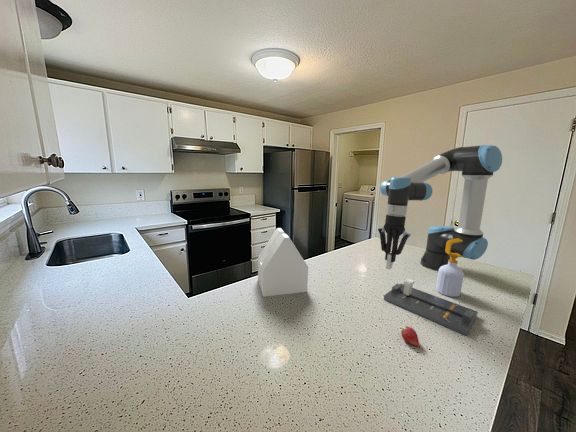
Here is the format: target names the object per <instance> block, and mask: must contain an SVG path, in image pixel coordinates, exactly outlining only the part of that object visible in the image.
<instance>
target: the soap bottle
mask: <svg viewBox="0 0 576 432" xmlns="http://www.w3.org/2000/svg"><path fill="white" fill-rule="evenodd" d="M459 242H463V240H461V239H459V238H457V239H451V240H448V241H447V242H446V248H445V252H446V253H447V254H448V255H450V258H451V259H449V260H448V264H447V265H443V266H441V267H440V268H439V271H438V270H437V272H438V273H437V279H436V283H435V284H436V286H435V290H436V291H437V292H438V294H439V293H440V294H441V295H444V296H447V297H451V298H458V297H460V296H461V292H462V287H463V282H464V278H465V277H464V276H465V274H464V272H463V270H462V269H461V268H460V267H458V260H457V259H458V258H463V257H462V256H461V255H460V254H458V253H450V252H451V247H452V245H453V244H454V243H459Z"/></svg>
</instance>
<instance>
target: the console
mask: <svg viewBox="0 0 576 432" xmlns="http://www.w3.org/2000/svg"><path fill="white" fill-rule="evenodd" d="M404 286H405V285H404V283H400V284H399V283H396V284H395V285H393V286H391V290H389V291H388V292H386V293H385V294H384V295H383V300H384V301H386V302H388V303H391V304H393V305H395V306H397V307H400V308H401V309H403V310H407V311H408V312H411V313H413V314H416V315H418V316H420V317H423V318H424V319H427V320H430V321H432V322H434V323H436V324H438V325H441V326H443V327H446V329H447V328H448V329H450V330H452V331H455V332H456V333H460V334H461V335H464V336H468V333H469V332H470V330H471V328H472V326H473V325H474V323H475V321H476V319H477V317H478V313H479V312H478V311H477V310H475V309H471V308H469V307H466V306H464V305H460V304H458V303H456V302H453V301H450V300H447V299H445V298H442V297H438V296H436V295H434V294H430V293H428V292H425V291H422V290H420V289H417V288H414V287H412V293H411V294H410V295H409V296H408V295H405V294H403V293H404Z"/></svg>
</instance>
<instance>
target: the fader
mask: <svg viewBox="0 0 576 432" xmlns="http://www.w3.org/2000/svg"><path fill="white" fill-rule="evenodd" d="M403 284H404V285H405V286H404V293H403V294H405V295H408V296H409V295H410V294H411V293H412V288H414V287H413V286H414V284H415V280H414V279H409V278H407V279H406V280H405V281H403Z"/></svg>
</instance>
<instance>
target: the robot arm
mask: <svg viewBox="0 0 576 432" xmlns="http://www.w3.org/2000/svg"><path fill="white" fill-rule="evenodd" d="M502 164H503V154H502V151H501V150H500V148H499V147H497V146H496V145H491V144H489V145H486V144H483V145H472V146H461V147H460V146H459V147H455V148H452V149H450V150H447V151H445V152H442V153H440V154H438V155H437V156H435V157H433V158H432V160H431V161H429V162H427V163H425V164H423V165H421V166H418V167H416V168H414V169H413V170H411V171H409V172H406V173H405V174H403V175H401V176H393V177H391V179H388V180H387V179H386V180H384V181H383V182H381V184H380V190H379V191H380V193H381V194H382V196H385V197H387V205H386V214H385V220H384V225H383V226H382V227H379V228H378V229H377V230H378V233H379V240H380V248H381V249H380V250H381V251H382V252H384V253H385V254H384V255H385V257H384V260H385V261H386V265H385V269H387V270H392V269H393V264H394V263H395V262H396V258H397V256H399V255H401V254H402V251H403V250H404V247H405V245H406V243H407V241H408V239H409V238H410V236H411V233H408V232H407V231H406V228H405V226H406V218H407V217H406V215H407V211H408V203H409V201H420V202H422V201H426V200H429V199H430V198H431V197H432V195H433V190H434V189H433V187H432V185H431V184H430V183H427V181H428V180H430V179H433V178H435V177H436V176H438V175H443V174H447V173H448V172H461V176H462V177H463V178H464V184H463V190H462V196H461V204H460V205H461V206H460V212H459V217H458V224H457V225H458V226H457V227H453V226H450V225H433V226H430V227H429V229H428V233H427V237H426V238H427V239H426V246H425V251H424V252H423V254H422V257H421V258H420V263H419V264H420V265H421V266H423V267H424V268H428V269H430V270H434V271H437V272H438V271H439V268H440V267H441V266H443V265H447V264H448V260H449V259H451V257H450V255H448V254H447V253H446V252H445V248H446V242H447V241H448V240H451V239H457V238H459V239H461V240H463V242H459V243H454V244H453V245H452V247H451V252H450V253H458V254H460V255H461V256H462V257H461V258H464V259H467V260H468V259H469V260H472V261H474V260H478V259H479V258H481V257H482V256H484V254H485V253H486V251H487V248H488V245H489V243H488V239H486V238H485V237H484V232H483V231H482V230H481V225H482V218H483V213H484V206H485V201H486V200H485V199H486V195H487V194H486V193H487V187H488V182H489V179H490V178H491V177H494V172H497V171H499V170H500V167H502ZM400 236H402V238H401V240H400V242H399V239H400Z"/></svg>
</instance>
